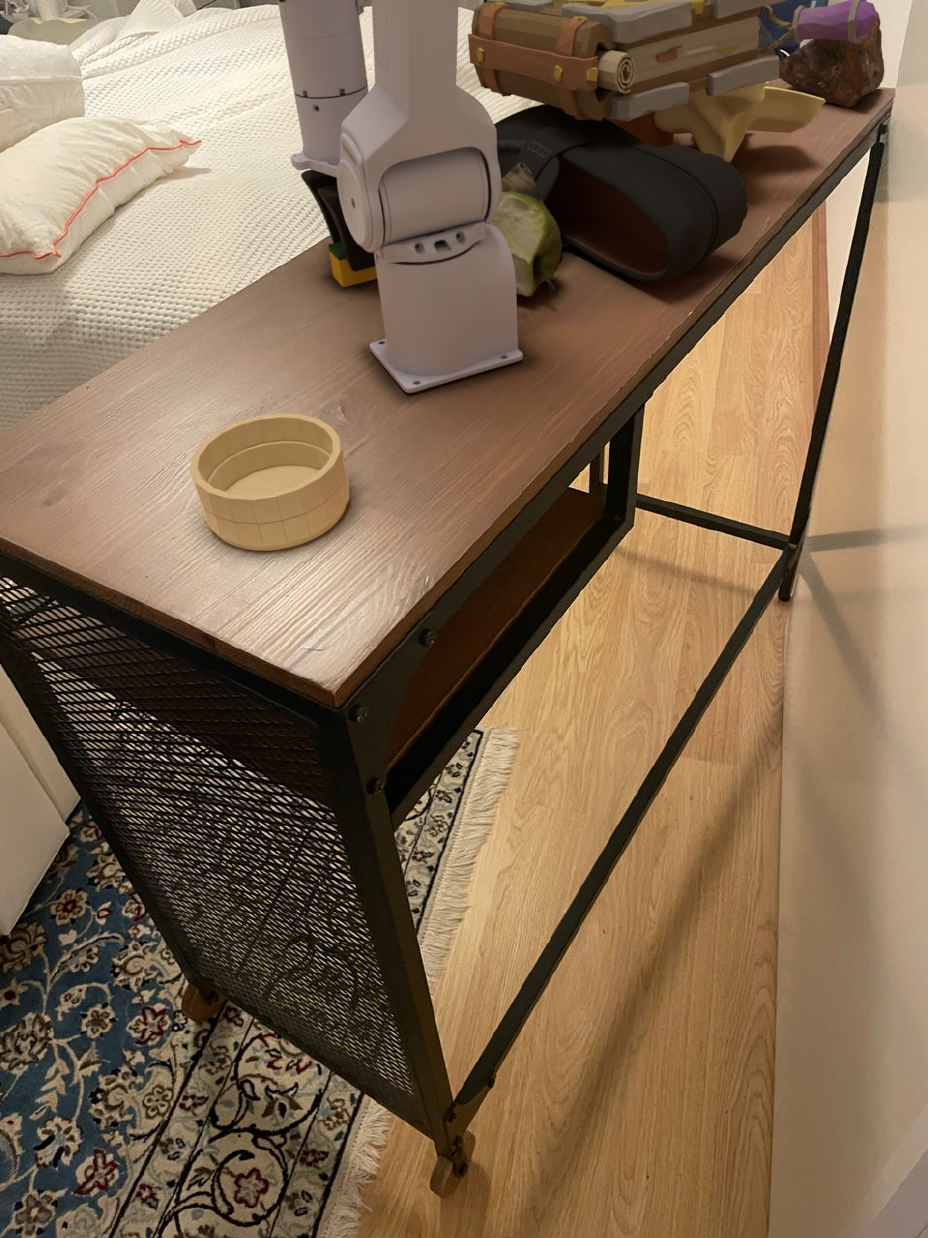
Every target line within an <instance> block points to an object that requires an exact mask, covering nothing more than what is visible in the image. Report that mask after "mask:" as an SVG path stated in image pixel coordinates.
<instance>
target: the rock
mask: <svg viewBox="0 0 928 1238" xmlns="http://www.w3.org/2000/svg"><path fill="white" fill-rule="evenodd" d="M876 13H877V20H876V22H875V23H874V25H873V27H872V29H871V30H870V32H869V34H866V35H864V36H863V37H862V39H861V40H860V42H859V43H852V42H850V41H843V40H835V39H827V38H823V39H810V40H809V41H808V42H807V43H806V44H803V45H802V46H801V47H799V48H797V49H796V50H794V51H793V52H792V53H790V54H789V55H787V56H786V57H785V58H784V59H782V60H780V64H779V78H778V79H780V80H782V81H783V82H785V83H787V84H788V85H790V87H791V86H792V87H794V88H797V89H798V90H801V91H804V92H809V93H812V94H813V95H815V96H817V97H820V98H823V99H825V101H827V102H826V103H830V104H835V105H838V106H840V107H842V108H845V109H850V108H852V107H854V106H855V105H857V103H859V101H860V100H861V99H862V98H863V97H864V96H866V95H868V94H870V93H875V91H876V90H877V89H878V88H879V87H880V86H881V83H882V82H883V80H884V77H885V61H884V57H883V55H884V54H883V50H882V48H883V47H882V44H883V43H882V41H883V40H882V37H883V36H882V35H883V33H882V30H881V28H880V27H881V24H882V23H881V19H880V14H879V12H878V11H876ZM797 81H798V82H797ZM818 83H820V84H818Z"/></svg>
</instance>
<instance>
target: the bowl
mask: <svg viewBox="0 0 928 1238" xmlns="http://www.w3.org/2000/svg"><path fill="white" fill-rule="evenodd" d="M189 473H190V476H191V479H192V482H193V485H194V489H195V491H196V494H197V497H198V501H199V503H200V506H201V510H202V513H203V516H204V518H205V520H206V523H207V525H208V527H209V529H210V530H211V531H212V532H213V533H215V534H216V535H217V536H218V537H219V538H220V539H221V540H222V541H224V542H225V543H227V544H229V545H231V546H234V547H235V548H239V549H243V550H249V551H256V552H259V551H260V552H267V551H269V552H270V551H271V552H272V551H279V550H285V549H290V548H294V547H298V546H301V545H304V544H307V543H309V542H311V541H313V540H315V539H317V538H319V537H320V536H322V535H324V534H325V533H326V532H328V531H330V530H331V529H332V528H333V527H334V526H335V525H336V524H337V523H338V522H339V520H341V518H342V516H343V515H344V513H345V511H346V509H347V505H348V503H349V500H350V497H351V494H350V483H349V477H348V472H347V466H346V462H345V456H344V451H343V446H342V439H341V437H340V436H339V434H338V433H337V432H336V430H335V428H334V427H333V426H331V425H330V424H329V423H327V422H325V421H323V420H322V419H320V418H316V417H313V416H310V415H305V414H301V413H286V412H278V413H277V412H276V413H270V414H261V415H256V416H252V417H248V418H245V419H241V420H238V421H235V422H233V423H231V424H228V425H227V426H224V427H222V428H221V429H218V430H216V431H215V432H213V433H212V434H211V435H210V436H209V437H207V438H206V439H205V440H203V441H202V442H201V443H200V444H199V446H198V447H197V449H196V450H195V451H194V453H193V455H192V456H191V459H190V466H189Z"/></svg>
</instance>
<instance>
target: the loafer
mask: <svg viewBox="0 0 928 1238" xmlns="http://www.w3.org/2000/svg"><path fill="white" fill-rule="evenodd" d="M494 126H495V128H496V131H497V157H498V163H499V167H500V173H501V179H502V178H503V177H504V176H505V175H506V174H507V173H508V172H509V171H511V170H512V169H513V168H514V167H515V166H516V165H518V164H519V163H521V162H523V163H524V164H525V165H526V166H527V168H528V169H529V170H530V172H531V174H532V176H533V178H534V181H535V184H536V186H537V189H538V192H539V195H540V198H541V200H542V201H543V203H544V204H545V206H546V207H547V209H548V210H549V212H550V213H551V215H552V216H553V218H554V219H555V221H556V223H557V225H558V227H559V230H560V236H561V250H563V248H567V249H576V250H578V251H579V252H581V253H583V254H584V255H586V256H589V258H591V259H593V260H594V261H595V262H598V263H599V264H600V265H603V266H605V267H607V268H608V269H611V270H612V271H614V272H617V273H619V274H621V275H623V276H626V277H629V278H631V279H634V280H636V281H639V282H643V283H648V284H658V283H659V284H660V283H664V282H669V281H671V280H673V279H675V278H676V277H677V276H680V275H682V274H684V273H686V272H687V271H689V270H691V269H692V268H693V267H694V266H695V265H696V264H697V263H700V262H702V261H703V260H705V259H706V258H707V257H709V256H710V255H711V254H713V253H714V252H716V250H718V249H719V248H720V247H722V246H723V245H725V244H726V243H727V242H729V241H730V240H731V239H732V238H734V237H736V236H737V235H738V234H739V233H740V232H741V230H742V228H743V222H744V221H745V219H746V218H747V215H748V210H749V207H748V206H747V205H748V203H749V195H748V191H747V186H746V185H745V184H744V183H743V180H742V178H741V173H740V171H738V169H736V167H735V166H734V165H733V164H732V163H731V162H727V161H724V159H723V158H721V157H719V156H716V155H713V154H711V153H710V154H707V153H702V152H701V151H700V149H699V150H698V149H695V148H693V147H690V146H684V145H681V144H678V143H677V144H676V143H673V144H670V145H667V146H664V147H660V148H655V147H653V146H651V145H649V144H647V143H645V142H643V141H642V140H640V139H638V138H637V137H635V136H634V135H632V134H630V133H629V132H627V131H626V130H624V129H623V128H621V127H619V126H618V125H616V124H614V123H613V122H611V121H609V120H608V119H606V118H603V119H602V120H601V121H597V120H591V119H588V120H587V119H584V120H578V119H575V116H571V115H568V114H566V113H565V111H564V110H563V109H561V108H557V107H554V106H551V105H547V104H544V103H543V104H539V105H533V106H530V107H526V108H525V109H522V110H519V111H517V112H515V113H512V114H510V115H508V116H505V117H504V118H502V119H500V120H498V121H496V122H494Z"/></svg>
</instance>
